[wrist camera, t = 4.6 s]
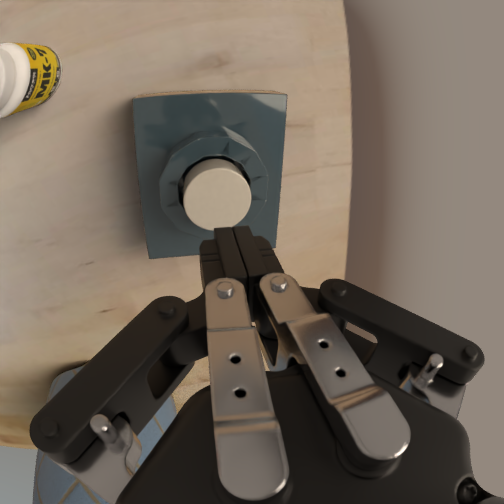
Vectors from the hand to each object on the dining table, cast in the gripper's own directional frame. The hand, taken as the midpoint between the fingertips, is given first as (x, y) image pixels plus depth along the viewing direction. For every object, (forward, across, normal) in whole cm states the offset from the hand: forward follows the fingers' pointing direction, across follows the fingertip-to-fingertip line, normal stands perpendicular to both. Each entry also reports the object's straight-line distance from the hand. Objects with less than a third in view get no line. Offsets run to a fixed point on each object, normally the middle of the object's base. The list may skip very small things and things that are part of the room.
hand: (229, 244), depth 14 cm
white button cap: (+7, 0, 0) cm, 7 cm away
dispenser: (+12, 0, 0) cm, 12 cm away
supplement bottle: (+12, +13, -9) cm, 20 cm away
